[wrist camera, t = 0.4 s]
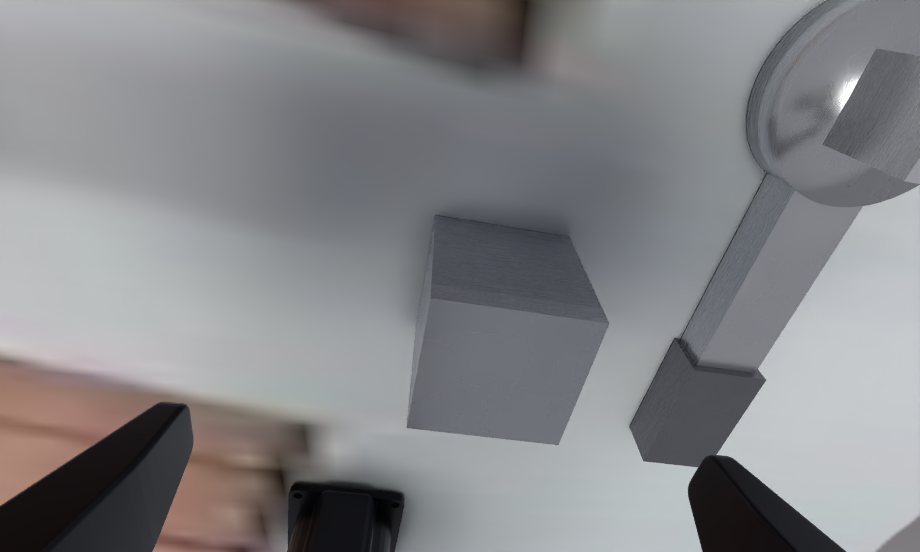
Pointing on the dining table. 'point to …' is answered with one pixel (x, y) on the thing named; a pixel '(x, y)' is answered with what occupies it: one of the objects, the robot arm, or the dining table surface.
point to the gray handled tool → (792, 209)
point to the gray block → (502, 333)
